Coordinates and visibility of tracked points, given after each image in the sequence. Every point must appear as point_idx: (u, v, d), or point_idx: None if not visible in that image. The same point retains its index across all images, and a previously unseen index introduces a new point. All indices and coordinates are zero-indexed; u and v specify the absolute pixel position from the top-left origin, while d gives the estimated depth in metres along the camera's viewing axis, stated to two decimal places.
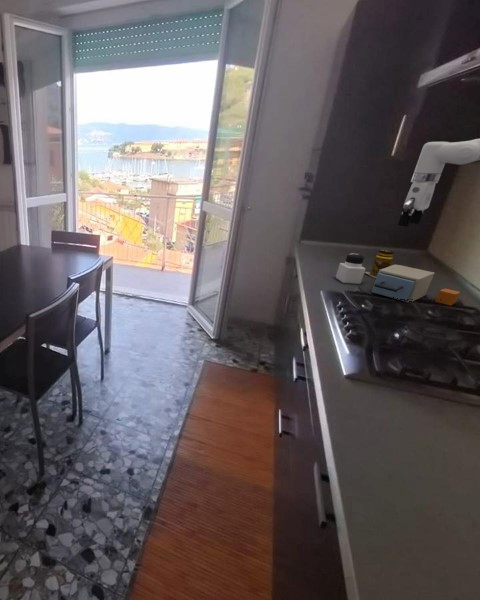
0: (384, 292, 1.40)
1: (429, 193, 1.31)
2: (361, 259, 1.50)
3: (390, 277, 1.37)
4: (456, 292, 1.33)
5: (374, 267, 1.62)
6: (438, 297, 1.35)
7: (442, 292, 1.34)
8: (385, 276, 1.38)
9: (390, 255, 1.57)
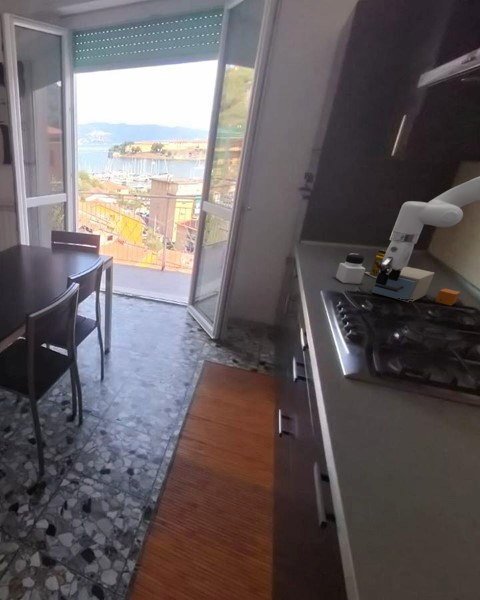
0: (384, 292, 1.40)
1: (407, 252, 1.27)
2: (361, 259, 1.50)
3: None
4: (456, 292, 1.33)
5: (374, 267, 1.62)
6: (438, 297, 1.35)
7: (442, 292, 1.34)
8: None
9: None
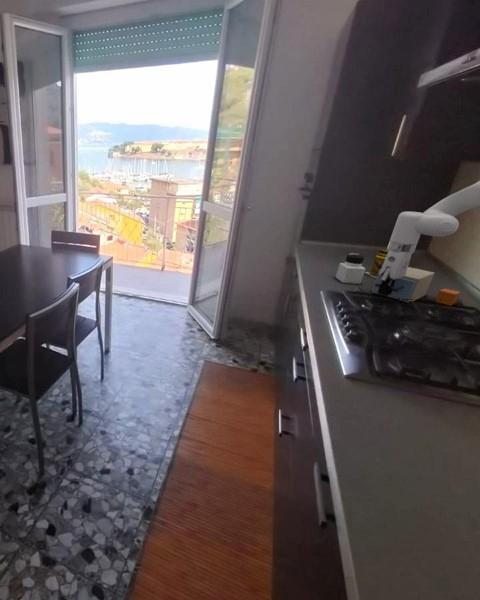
0: None
1: (405, 262, 1.28)
2: (361, 259, 1.50)
3: None
4: (456, 292, 1.33)
5: (374, 267, 1.62)
6: (438, 297, 1.35)
7: (442, 292, 1.34)
8: None
9: None
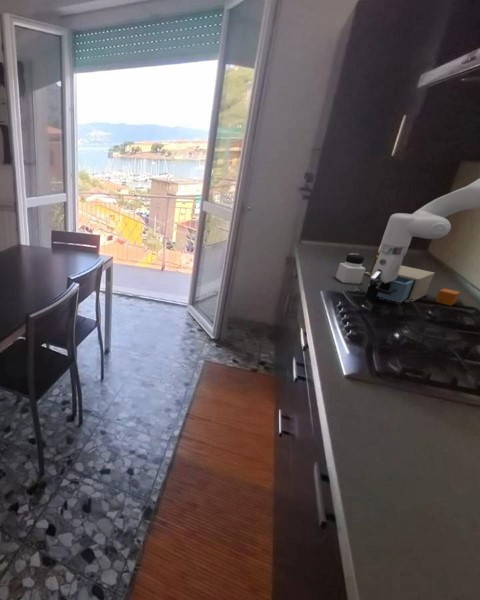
0: (378, 295, 1.37)
1: (396, 265, 1.25)
2: (361, 259, 1.50)
3: None
4: (456, 292, 1.33)
5: None
6: (438, 297, 1.35)
7: (442, 292, 1.34)
8: None
9: None
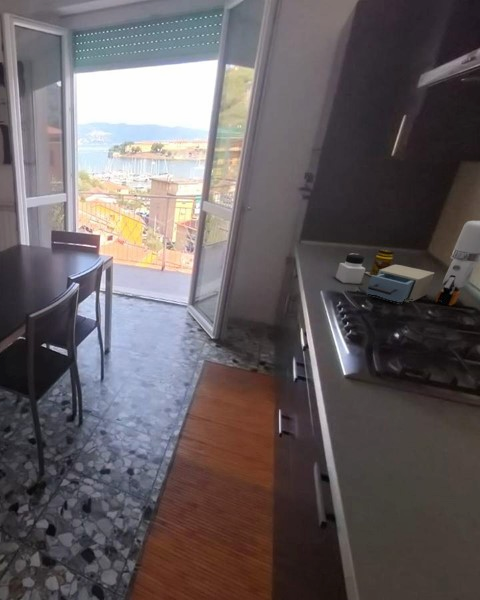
0: (378, 295, 1.37)
1: (470, 271, 1.28)
2: (361, 259, 1.50)
3: (384, 279, 1.35)
4: (456, 292, 1.33)
5: (374, 267, 1.62)
6: (438, 297, 1.35)
7: None
8: (379, 278, 1.36)
9: (390, 255, 1.57)
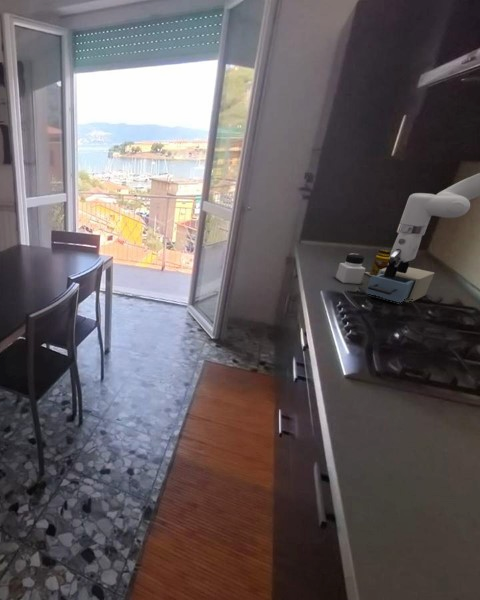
0: (378, 295, 1.37)
1: (415, 244, 1.27)
2: (361, 259, 1.50)
3: (384, 279, 1.35)
4: None
5: (374, 267, 1.62)
6: None
7: None
8: (379, 278, 1.36)
9: None
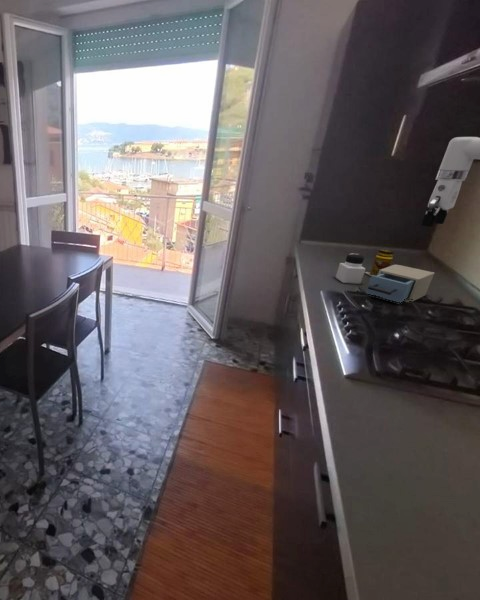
0: (378, 295, 1.37)
1: (455, 191, 1.24)
2: (361, 259, 1.50)
3: (384, 279, 1.35)
4: None
5: (374, 267, 1.62)
6: None
7: None
8: (379, 278, 1.36)
9: (390, 255, 1.57)
